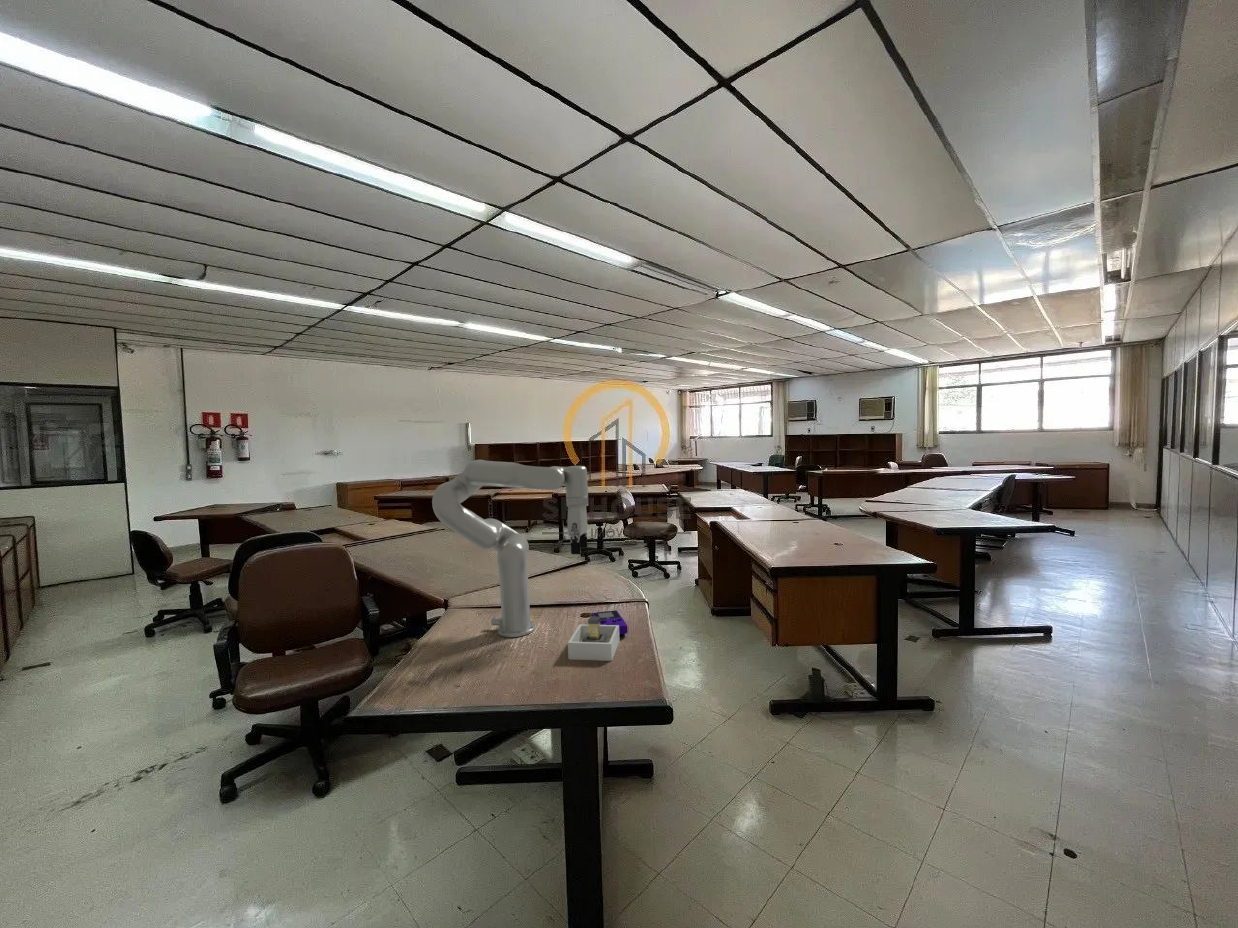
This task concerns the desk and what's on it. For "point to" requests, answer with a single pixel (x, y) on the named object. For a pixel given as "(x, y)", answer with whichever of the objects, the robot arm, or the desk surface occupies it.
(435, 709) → the desk surface
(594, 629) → the peg
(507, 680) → the desk surface
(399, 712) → the desk surface
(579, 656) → the box
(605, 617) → the handheld gaming console
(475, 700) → the desk surface
